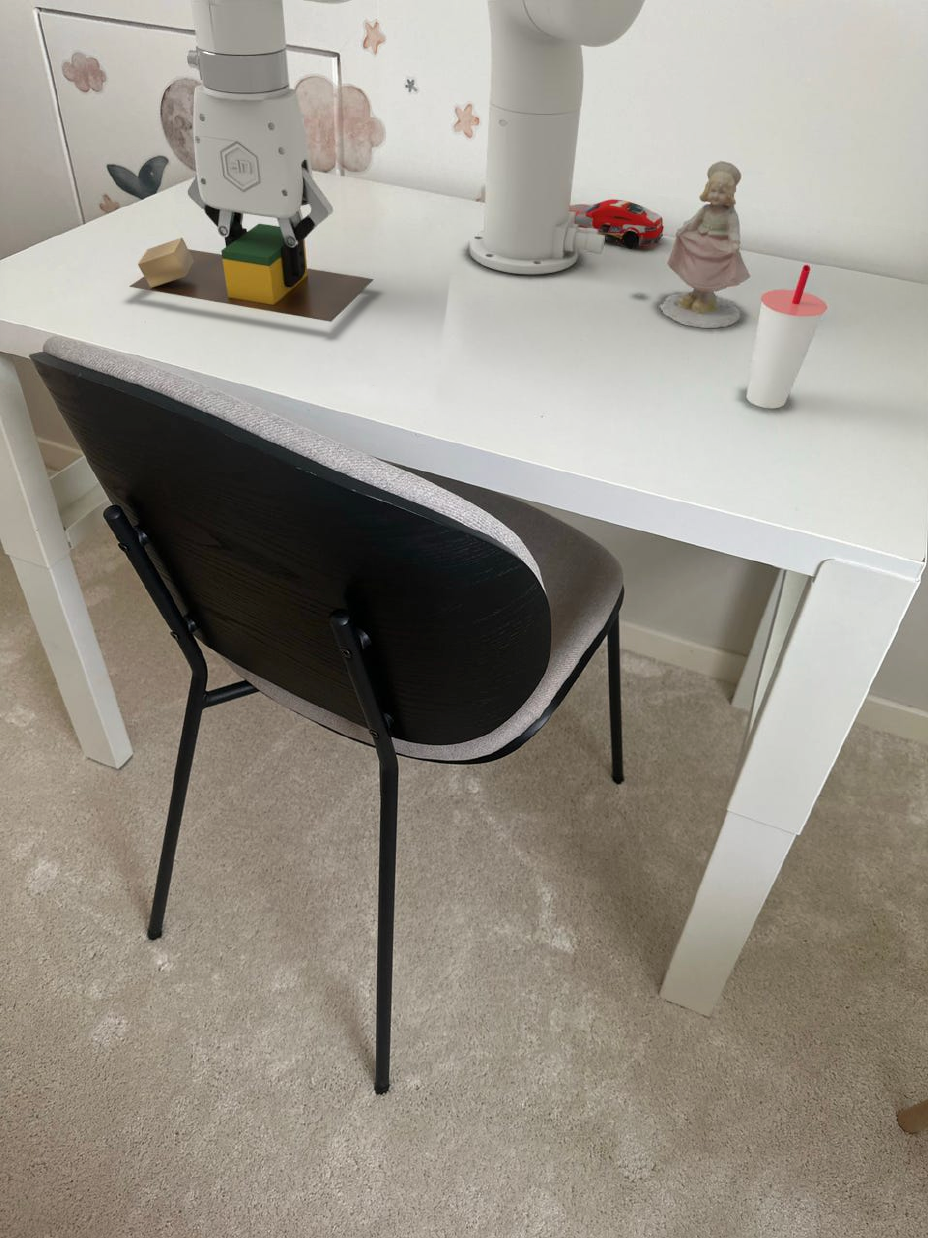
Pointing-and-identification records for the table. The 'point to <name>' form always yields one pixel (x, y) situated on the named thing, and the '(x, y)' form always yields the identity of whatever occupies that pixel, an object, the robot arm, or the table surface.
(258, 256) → the sponge
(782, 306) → the cup
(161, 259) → the wooden block
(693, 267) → the figurine
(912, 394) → the table surface
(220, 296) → the board
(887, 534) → the table surface
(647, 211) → the race car
